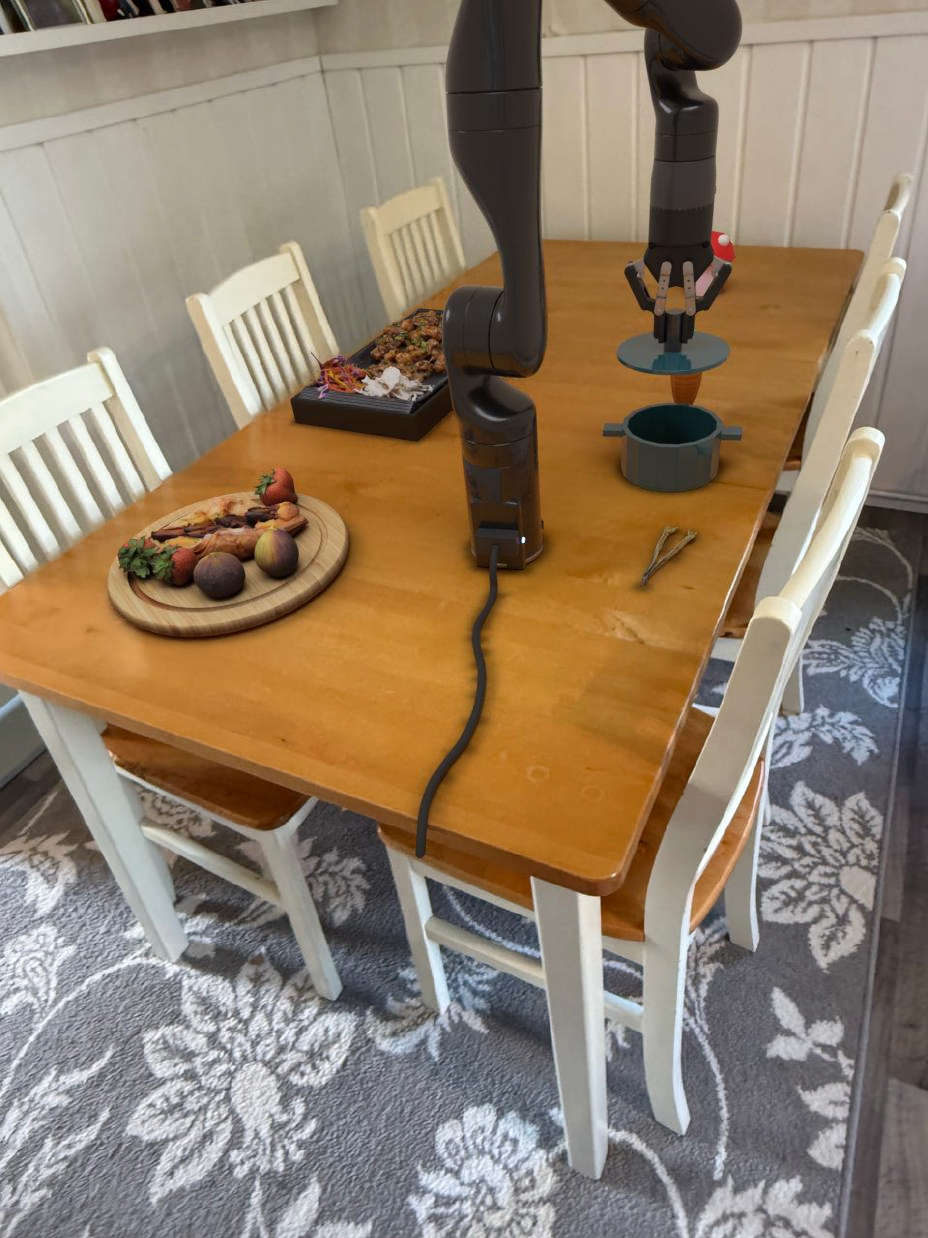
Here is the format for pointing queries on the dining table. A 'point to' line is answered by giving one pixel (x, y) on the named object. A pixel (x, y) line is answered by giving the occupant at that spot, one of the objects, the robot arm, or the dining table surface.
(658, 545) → the tongs
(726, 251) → the mushroom
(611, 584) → the dining table surface
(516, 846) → the dining table surface
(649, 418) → the saucepan
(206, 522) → the wooden plate
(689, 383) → the carrot
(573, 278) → the dining table surface
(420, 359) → the food platter
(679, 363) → the pan lid
